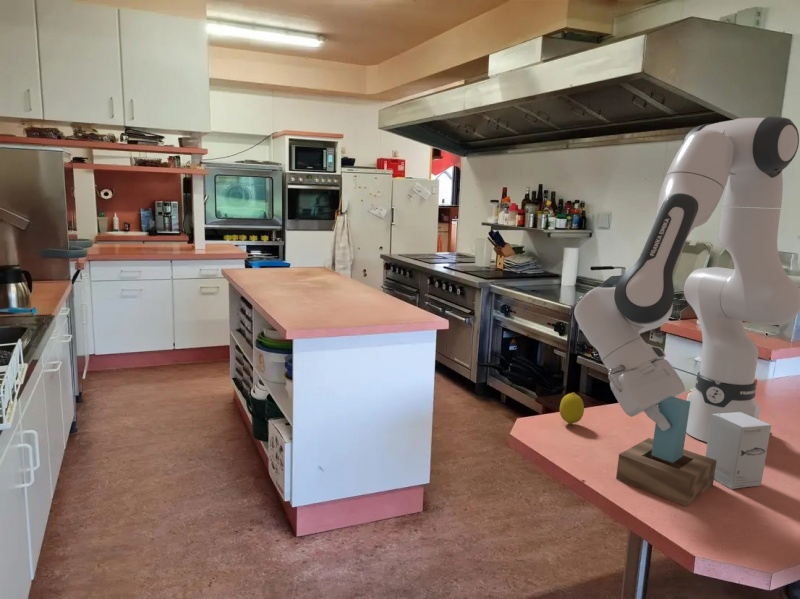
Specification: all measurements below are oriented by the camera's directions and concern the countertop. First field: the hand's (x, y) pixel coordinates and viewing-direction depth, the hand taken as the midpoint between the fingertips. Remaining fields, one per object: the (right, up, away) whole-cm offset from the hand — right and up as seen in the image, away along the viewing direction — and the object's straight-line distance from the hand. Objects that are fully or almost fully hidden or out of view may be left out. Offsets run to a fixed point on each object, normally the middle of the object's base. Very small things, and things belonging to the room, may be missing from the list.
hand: (674, 425), depth 108 cm
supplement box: (+13, -12, +5) cm, 19 cm away
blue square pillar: (-1, -6, +1) cm, 6 cm away
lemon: (-11, -6, +29) cm, 32 cm away
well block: (-1, -11, +2) cm, 12 cm away
